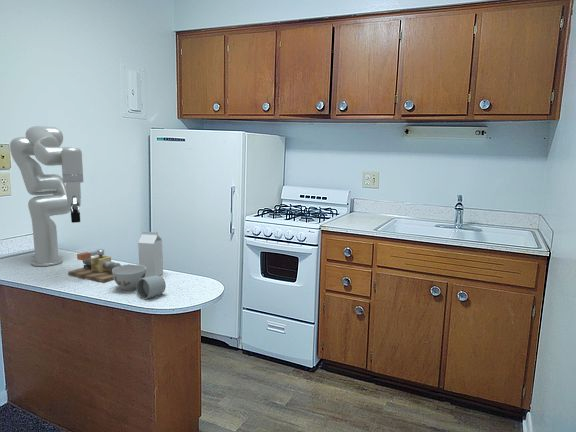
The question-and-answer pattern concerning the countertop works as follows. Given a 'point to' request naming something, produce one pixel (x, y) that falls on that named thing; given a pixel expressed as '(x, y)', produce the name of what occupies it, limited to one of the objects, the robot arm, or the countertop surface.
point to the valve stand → (96, 269)
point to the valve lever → (89, 254)
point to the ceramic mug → (150, 286)
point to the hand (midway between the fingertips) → (75, 220)
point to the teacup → (128, 275)
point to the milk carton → (151, 253)
